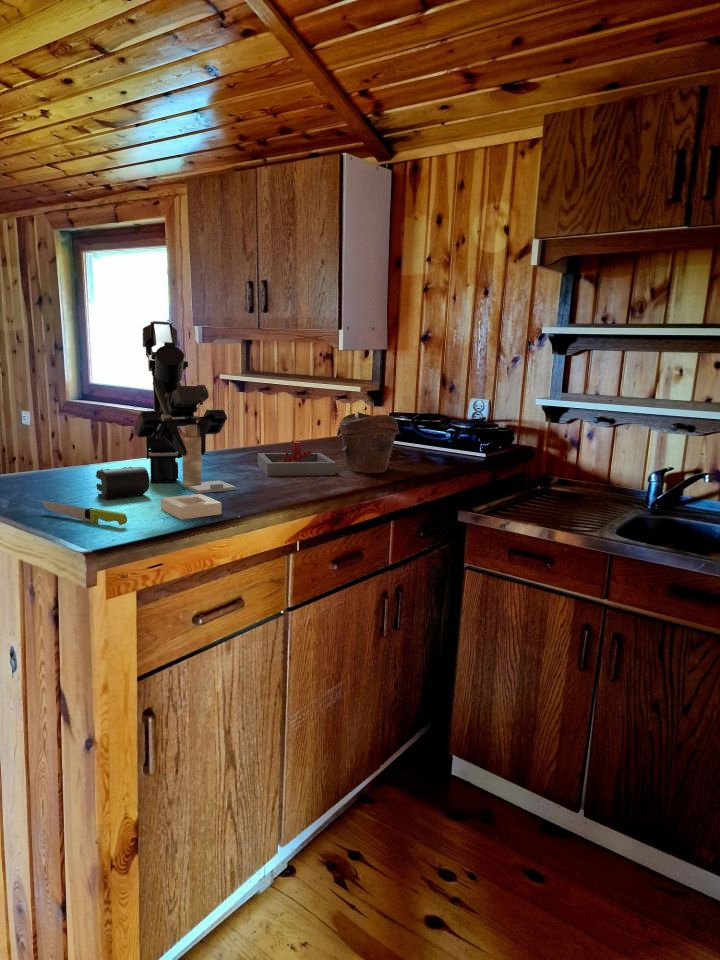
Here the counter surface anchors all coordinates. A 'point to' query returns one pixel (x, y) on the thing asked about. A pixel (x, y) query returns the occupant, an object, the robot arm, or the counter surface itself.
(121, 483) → the end cap
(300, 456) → the diorama
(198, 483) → the birch pin
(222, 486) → the lid panel
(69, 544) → the counter surface
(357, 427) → the brown tapered pot
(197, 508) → the white square socket base
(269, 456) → the gray square tray
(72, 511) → the kitchen knife
